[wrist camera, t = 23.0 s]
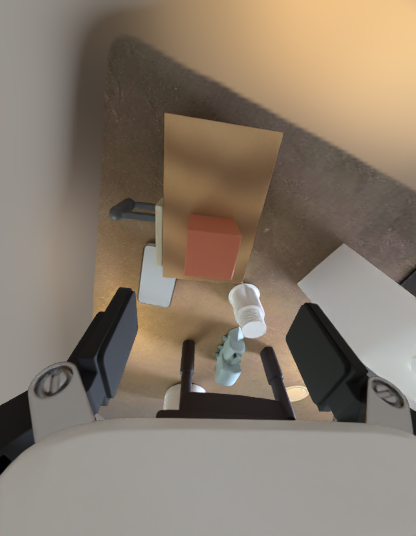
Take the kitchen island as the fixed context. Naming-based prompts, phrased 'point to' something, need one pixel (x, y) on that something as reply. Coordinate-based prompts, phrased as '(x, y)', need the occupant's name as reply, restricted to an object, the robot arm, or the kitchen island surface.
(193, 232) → the block
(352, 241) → the kitchen island surface
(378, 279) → the milk
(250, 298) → the downlight
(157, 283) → the smartphone
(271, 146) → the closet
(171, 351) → the kitchen island surface
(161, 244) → the closet door
